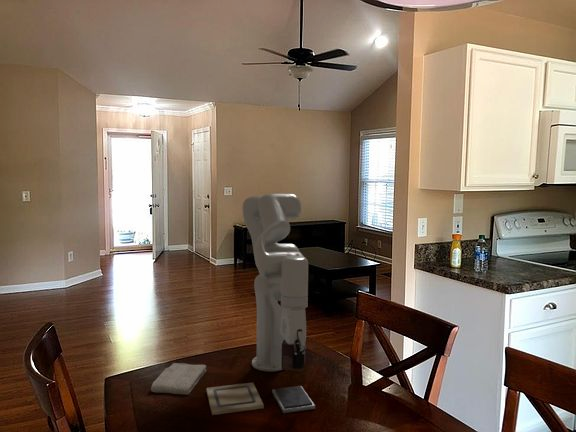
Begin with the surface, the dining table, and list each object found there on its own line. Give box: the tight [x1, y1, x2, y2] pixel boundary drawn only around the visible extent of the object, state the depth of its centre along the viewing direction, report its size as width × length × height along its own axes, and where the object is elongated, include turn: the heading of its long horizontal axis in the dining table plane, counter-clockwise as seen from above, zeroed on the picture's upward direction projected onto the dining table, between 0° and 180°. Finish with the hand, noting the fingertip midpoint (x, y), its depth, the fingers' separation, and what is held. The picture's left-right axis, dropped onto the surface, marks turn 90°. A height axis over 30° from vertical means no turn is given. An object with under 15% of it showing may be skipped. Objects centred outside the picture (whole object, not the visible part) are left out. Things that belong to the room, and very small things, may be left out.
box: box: [281, 340, 307, 372], centre depth 126 cm, size 6×6×7 cm
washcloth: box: [150, 362, 207, 396], centre depth 139 cm, size 12×18×3 cm, turn 173°
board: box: [206, 382, 265, 416], centre depth 128 cm, size 14×14×1 cm
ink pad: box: [271, 385, 316, 414], centre depth 128 cm, size 12×9×1 cm
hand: (293, 361), depth 127 cm, fingers closed on box, 8 cm apart
